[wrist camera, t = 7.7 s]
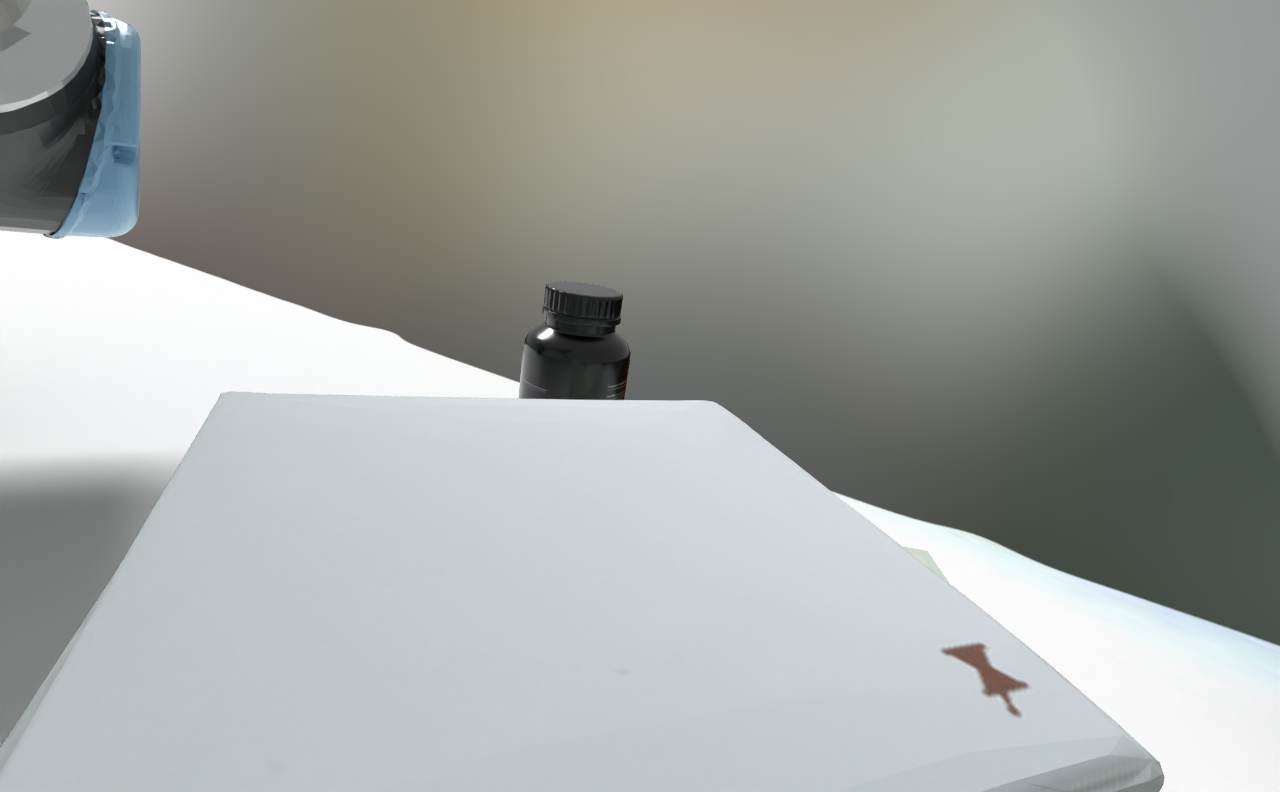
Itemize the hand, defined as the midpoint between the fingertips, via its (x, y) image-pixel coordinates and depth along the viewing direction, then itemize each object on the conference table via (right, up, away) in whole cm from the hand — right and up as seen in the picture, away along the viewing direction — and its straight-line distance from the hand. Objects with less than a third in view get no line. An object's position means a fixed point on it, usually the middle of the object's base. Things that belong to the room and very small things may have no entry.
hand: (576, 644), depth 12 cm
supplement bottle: (-4, 0, +30) cm, 31 cm away
